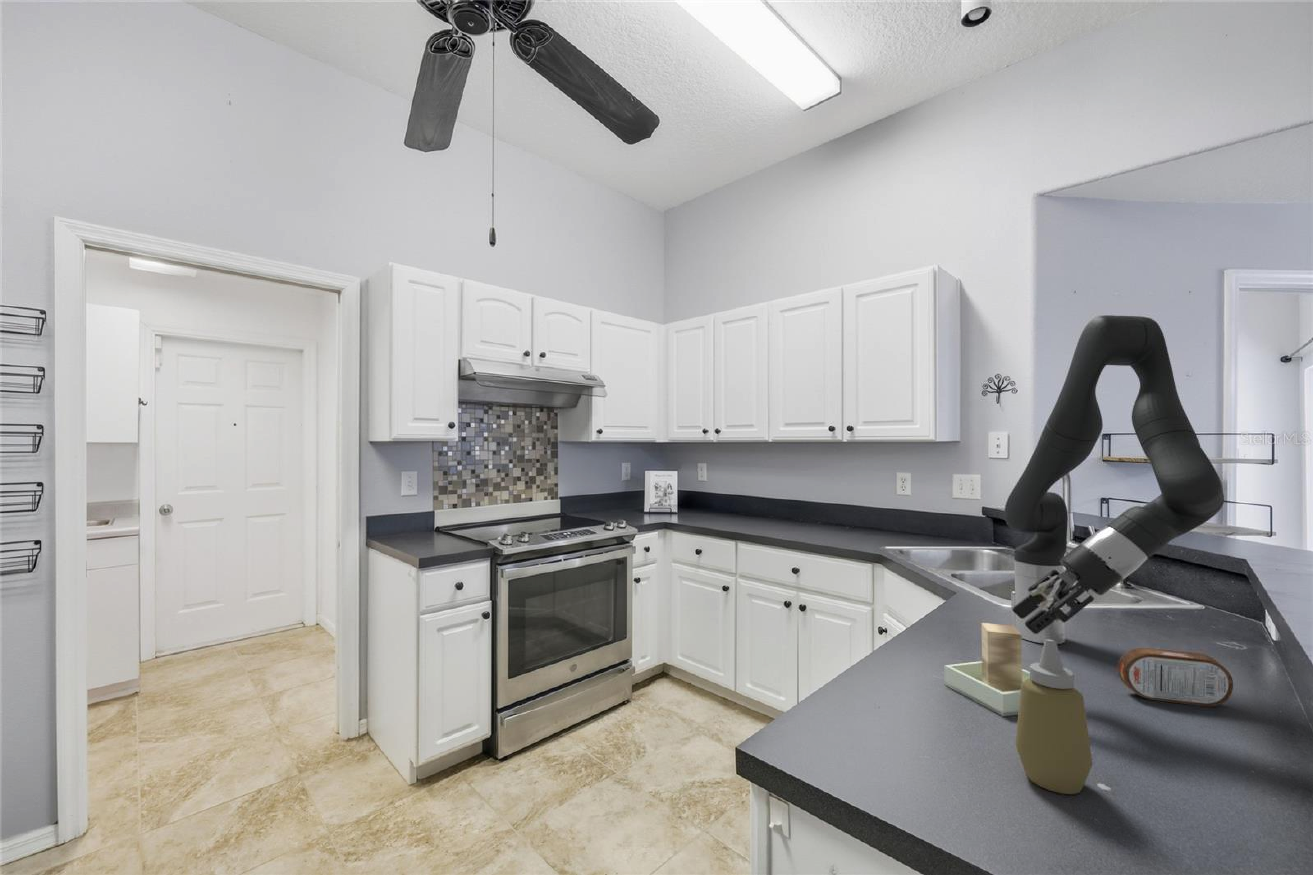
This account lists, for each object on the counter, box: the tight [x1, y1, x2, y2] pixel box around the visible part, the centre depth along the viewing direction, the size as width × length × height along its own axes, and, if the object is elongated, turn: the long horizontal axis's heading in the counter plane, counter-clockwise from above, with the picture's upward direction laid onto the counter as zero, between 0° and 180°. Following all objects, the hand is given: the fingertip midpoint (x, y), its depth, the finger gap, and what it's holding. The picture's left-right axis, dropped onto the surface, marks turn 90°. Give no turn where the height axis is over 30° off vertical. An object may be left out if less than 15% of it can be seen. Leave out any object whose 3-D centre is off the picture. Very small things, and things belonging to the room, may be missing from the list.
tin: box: [1117, 646, 1234, 707], centre depth 94 cm, size 15×3×8 cm, turn 71°
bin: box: [943, 660, 1030, 717], centre depth 96 cm, size 12×12×4 cm
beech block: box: [981, 622, 1023, 692], centre depth 96 cm, size 5×5×11 cm
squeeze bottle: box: [1015, 639, 1094, 795], centre depth 71 cm, size 8×8×18 cm
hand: (1022, 621), depth 95 cm, fingers open, 8 cm apart
